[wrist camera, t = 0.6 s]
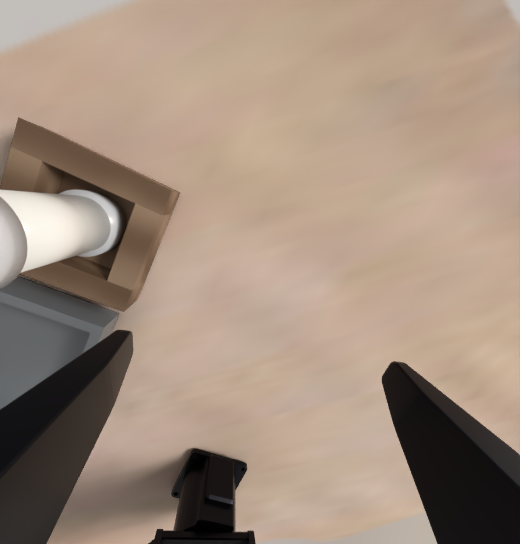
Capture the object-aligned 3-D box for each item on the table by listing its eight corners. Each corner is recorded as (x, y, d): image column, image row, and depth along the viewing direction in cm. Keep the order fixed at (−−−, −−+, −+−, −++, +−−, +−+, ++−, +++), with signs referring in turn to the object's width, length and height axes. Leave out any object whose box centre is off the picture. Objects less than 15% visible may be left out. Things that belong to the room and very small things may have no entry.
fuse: (115, 262, 21) (-29, 328, 10) (54, 237, 20) (-188, 277, 9) (135, 208, 20) (2, 209, 9) (72, 179, 19) (-170, 138, 8)
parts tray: (72, 433, 25) (53, 460, 23) (-90, 389, 23) (-134, 414, 20) (119, 313, 23) (103, 327, 20) (-58, 248, 20) (-104, 254, 17)
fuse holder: (138, 298, 23) (123, 311, 20) (16, 251, 21) (-19, 259, 18) (180, 192, 21) (171, 190, 18) (51, 131, 19) (18, 117, 16)
